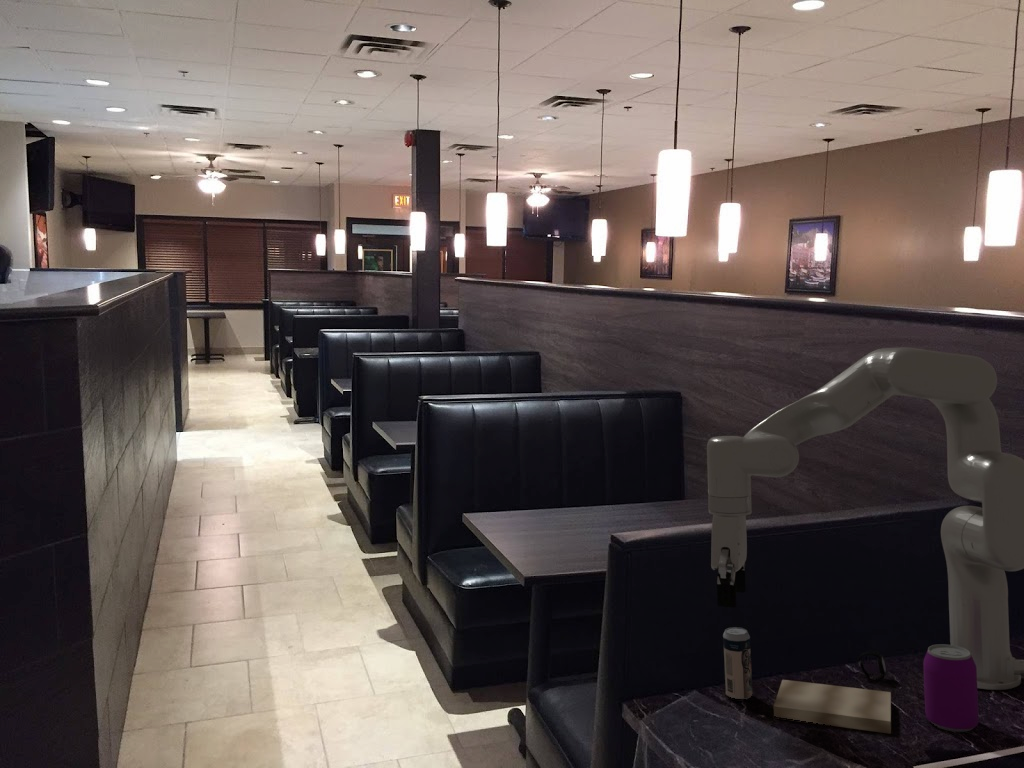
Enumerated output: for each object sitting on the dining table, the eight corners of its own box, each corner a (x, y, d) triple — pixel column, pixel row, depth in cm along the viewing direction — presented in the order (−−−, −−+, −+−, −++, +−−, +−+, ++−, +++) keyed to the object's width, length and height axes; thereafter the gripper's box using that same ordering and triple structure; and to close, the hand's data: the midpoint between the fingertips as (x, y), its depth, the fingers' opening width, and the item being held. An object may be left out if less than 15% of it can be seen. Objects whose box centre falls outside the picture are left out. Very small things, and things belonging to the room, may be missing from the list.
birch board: (891, 703, 140) (890, 692, 140) (891, 733, 129) (890, 721, 129) (782, 690, 148) (782, 679, 148) (774, 717, 137) (773, 706, 137)
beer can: (754, 702, 143) (751, 635, 143) (726, 701, 144) (723, 635, 144) (751, 691, 148) (748, 626, 148) (724, 690, 149) (721, 626, 149)
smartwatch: (881, 685, 148) (880, 658, 148) (854, 677, 152) (853, 651, 152) (892, 678, 150) (891, 652, 150) (866, 671, 154) (864, 645, 154)
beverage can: (928, 731, 129) (925, 657, 129) (923, 711, 136) (920, 641, 136) (982, 737, 126) (979, 661, 126) (974, 716, 134) (972, 644, 133)
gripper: (718, 496, 155) (720, 584, 155) (698, 512, 139) (701, 610, 139) (758, 497, 151) (760, 588, 152) (743, 514, 136) (745, 615, 136)
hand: (732, 598), depth 146 cm, fingers open, 9 cm apart
